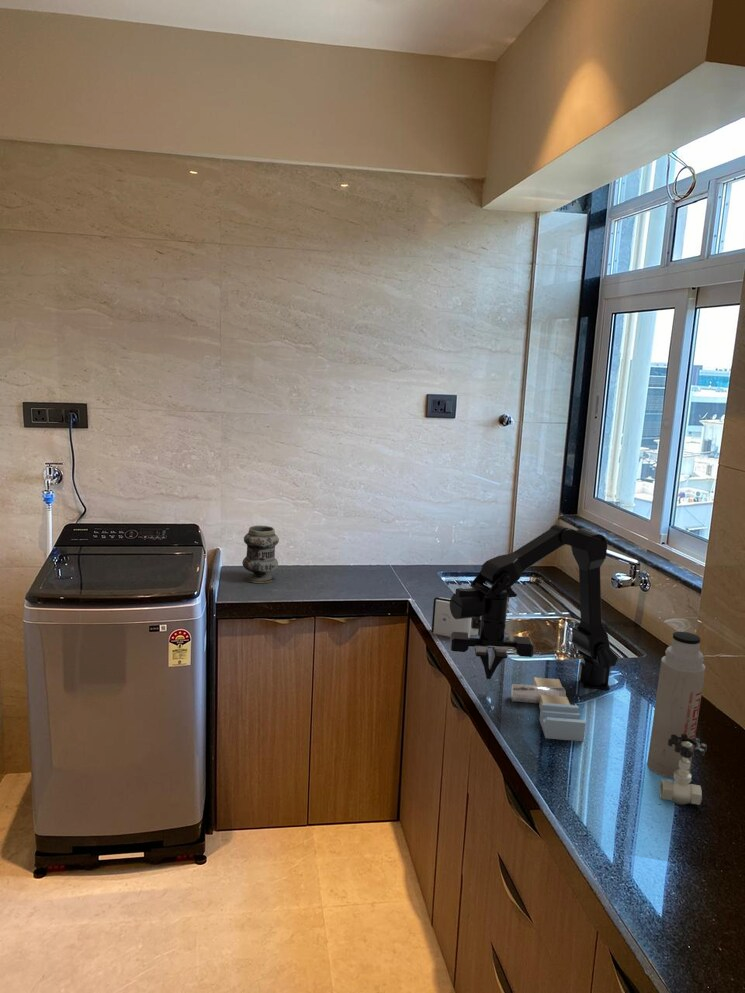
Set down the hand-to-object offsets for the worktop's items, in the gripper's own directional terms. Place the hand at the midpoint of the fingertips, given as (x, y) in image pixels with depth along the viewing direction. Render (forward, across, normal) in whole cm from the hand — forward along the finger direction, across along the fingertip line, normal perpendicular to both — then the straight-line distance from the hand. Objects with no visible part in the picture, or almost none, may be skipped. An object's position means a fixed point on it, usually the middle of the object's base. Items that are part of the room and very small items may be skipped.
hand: (488, 678), depth 174 cm
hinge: (+5, +5, -40) cm, 41 cm away
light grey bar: (+5, -12, 0) cm, 13 cm away
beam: (+5, -15, 0) cm, 16 cm away
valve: (+5, -32, +37) cm, 49 cm away
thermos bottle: (+5, -34, +25) cm, 42 cm away
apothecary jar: (+5, +70, -78) cm, 105 cm away
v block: (+5, -15, +13) cm, 20 cm away
